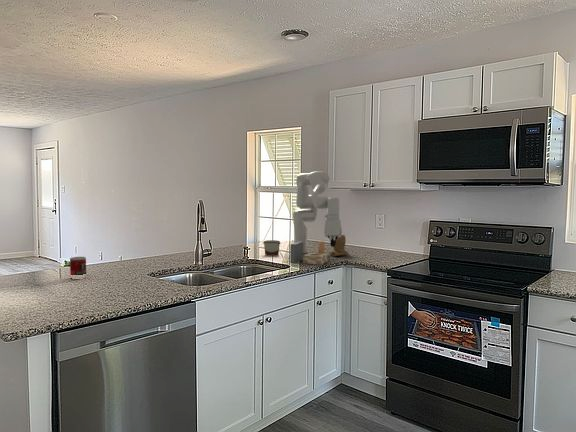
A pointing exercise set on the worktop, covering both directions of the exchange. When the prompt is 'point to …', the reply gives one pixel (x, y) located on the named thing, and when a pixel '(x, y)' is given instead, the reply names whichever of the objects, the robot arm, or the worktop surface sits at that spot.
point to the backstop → (296, 252)
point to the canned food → (77, 265)
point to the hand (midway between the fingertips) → (333, 246)
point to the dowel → (321, 247)
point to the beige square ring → (315, 258)
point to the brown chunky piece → (339, 247)
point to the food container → (271, 247)
